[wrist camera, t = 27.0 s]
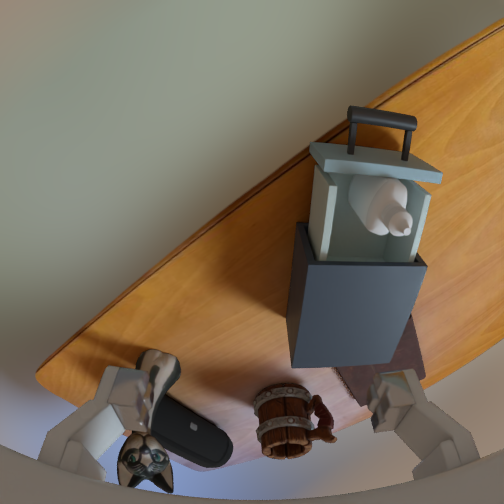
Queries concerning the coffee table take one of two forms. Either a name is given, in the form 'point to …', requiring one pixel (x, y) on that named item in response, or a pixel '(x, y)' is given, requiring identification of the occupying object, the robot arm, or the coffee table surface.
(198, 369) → the coffee table surface
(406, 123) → the drawer
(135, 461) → the figurine
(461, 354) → the coffee table surface
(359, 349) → the cabinet
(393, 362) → the brown leather sleeve case
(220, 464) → the portable speaker
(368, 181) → the eye dropper bottle
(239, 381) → the coffee table surface
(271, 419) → the mug
